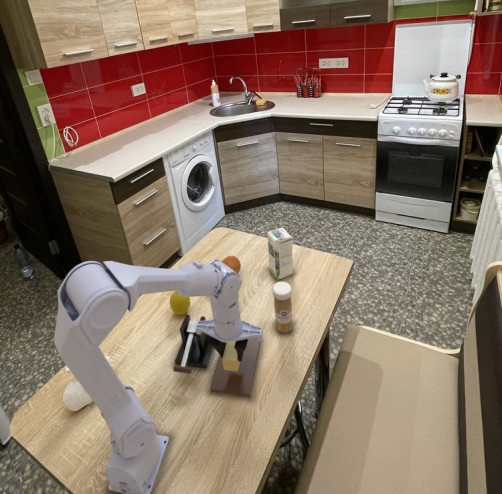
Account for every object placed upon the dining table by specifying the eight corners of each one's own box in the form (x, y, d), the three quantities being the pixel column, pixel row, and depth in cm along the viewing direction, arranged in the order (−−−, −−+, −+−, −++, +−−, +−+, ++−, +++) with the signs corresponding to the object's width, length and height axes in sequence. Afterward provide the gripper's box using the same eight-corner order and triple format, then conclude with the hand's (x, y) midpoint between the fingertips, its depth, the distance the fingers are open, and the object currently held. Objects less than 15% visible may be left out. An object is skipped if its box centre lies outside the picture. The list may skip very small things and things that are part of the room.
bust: (115, 373, 85) (88, 335, 85) (126, 372, 80) (98, 333, 80) (69, 419, 76) (40, 377, 76) (79, 421, 71) (47, 377, 71)
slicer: (206, 368, 82) (201, 343, 78) (175, 364, 84) (168, 339, 80) (218, 332, 91) (214, 307, 87) (189, 329, 92) (184, 305, 89)
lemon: (188, 321, 95) (183, 300, 91) (169, 319, 96) (164, 298, 93) (194, 305, 100) (190, 284, 96) (177, 303, 101) (172, 283, 98)
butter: (237, 371, 76) (236, 360, 75) (223, 369, 77) (222, 359, 75) (242, 351, 81) (241, 340, 79) (229, 349, 81) (227, 339, 80)
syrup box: (268, 269, 111) (265, 232, 105) (284, 263, 113) (282, 226, 107) (277, 280, 106) (275, 242, 100) (294, 273, 108) (292, 236, 102)
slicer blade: (191, 375, 78) (188, 372, 76) (175, 373, 79) (172, 369, 77) (203, 325, 86) (201, 321, 84) (188, 323, 87) (186, 319, 85)
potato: (247, 274, 110) (245, 259, 106) (217, 301, 102) (214, 285, 98) (231, 262, 114) (229, 247, 110) (201, 287, 106) (198, 272, 102)
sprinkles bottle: (279, 336, 88) (276, 296, 83) (273, 322, 92) (270, 283, 87) (295, 330, 89) (294, 291, 84) (288, 316, 93) (286, 278, 88)
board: (250, 397, 75) (249, 394, 75) (210, 391, 77) (210, 388, 77) (260, 340, 88) (260, 337, 87) (226, 336, 89) (226, 334, 89)
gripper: (263, 301, 75) (267, 344, 80) (199, 295, 78) (207, 337, 83) (257, 328, 68) (262, 373, 74) (188, 321, 71) (198, 365, 77)
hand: (232, 356), depth 78 cm, fingers closed on butter, 3 cm apart
